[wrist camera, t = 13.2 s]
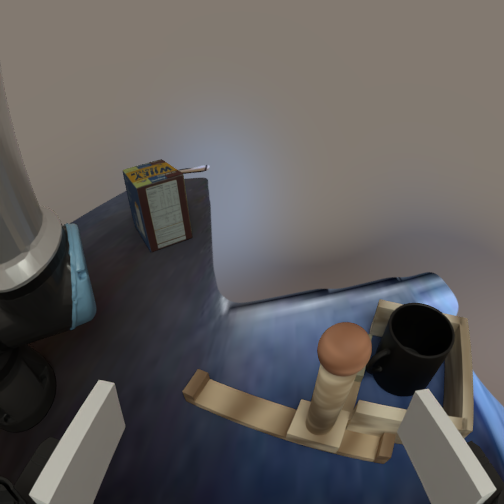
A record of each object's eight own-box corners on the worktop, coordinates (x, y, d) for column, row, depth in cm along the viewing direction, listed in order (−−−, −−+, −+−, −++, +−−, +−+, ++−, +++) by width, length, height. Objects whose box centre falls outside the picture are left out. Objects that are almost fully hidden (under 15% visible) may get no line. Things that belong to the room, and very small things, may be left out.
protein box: (170, 213, 80) (161, 158, 71) (193, 238, 69) (184, 173, 61) (134, 226, 76) (121, 169, 67) (150, 253, 65) (135, 187, 56)
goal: (344, 432, 31) (355, 411, 28) (370, 327, 45) (379, 299, 42) (449, 450, 26) (472, 430, 23) (452, 344, 40) (467, 318, 37)
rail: (186, 401, 36) (182, 391, 35) (201, 379, 39) (198, 368, 38) (383, 463, 27) (390, 457, 25) (390, 435, 30) (397, 428, 28)
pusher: (285, 441, 31) (299, 345, 20) (324, 343, 43) (344, 230, 32) (336, 456, 28) (389, 367, 18) (365, 353, 41) (400, 242, 30)
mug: (344, 360, 41) (358, 316, 35) (410, 338, 42) (429, 295, 37) (371, 413, 33) (394, 376, 28) (440, 383, 35) (468, 343, 30)
